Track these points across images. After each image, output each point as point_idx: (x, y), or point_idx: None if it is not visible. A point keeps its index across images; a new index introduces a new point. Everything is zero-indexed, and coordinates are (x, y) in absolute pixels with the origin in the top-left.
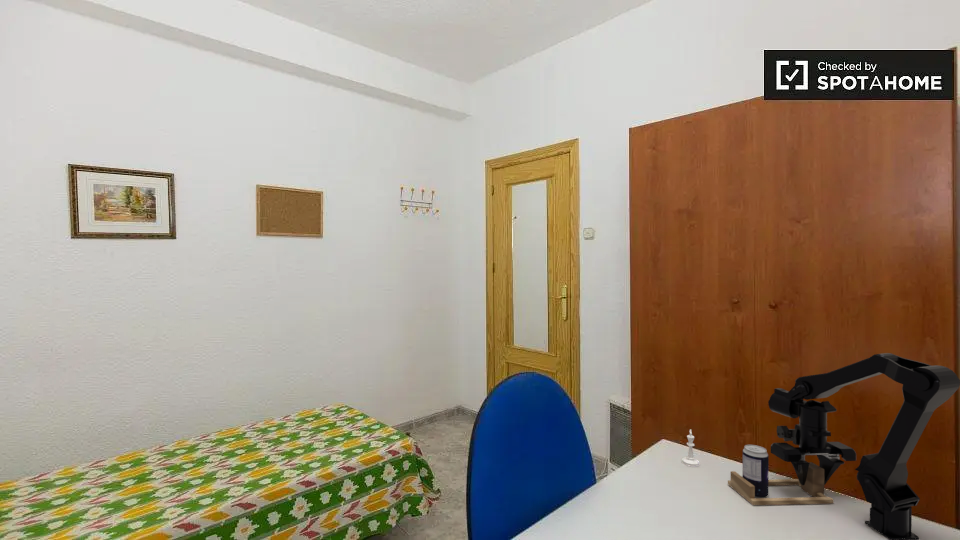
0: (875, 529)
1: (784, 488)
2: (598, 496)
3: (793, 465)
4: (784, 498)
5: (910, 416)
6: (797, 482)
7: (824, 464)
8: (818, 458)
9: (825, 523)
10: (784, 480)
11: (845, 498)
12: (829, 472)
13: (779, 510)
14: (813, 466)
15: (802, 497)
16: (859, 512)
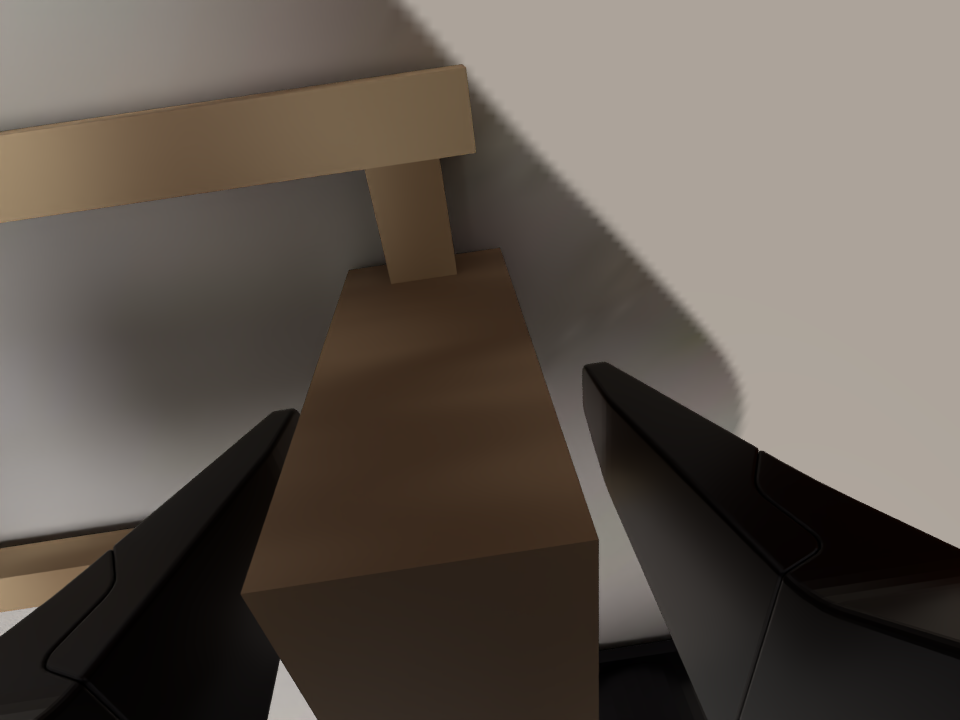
0: None
1: (143, 253)
2: None
3: (6, 666)
4: (38, 581)
5: None
6: (350, 169)
7: (762, 693)
8: (885, 635)
9: (292, 685)
10: (135, 162)
11: (718, 391)
12: (683, 657)
13: (6, 624)
14: (456, 708)
15: None
16: (626, 562)
